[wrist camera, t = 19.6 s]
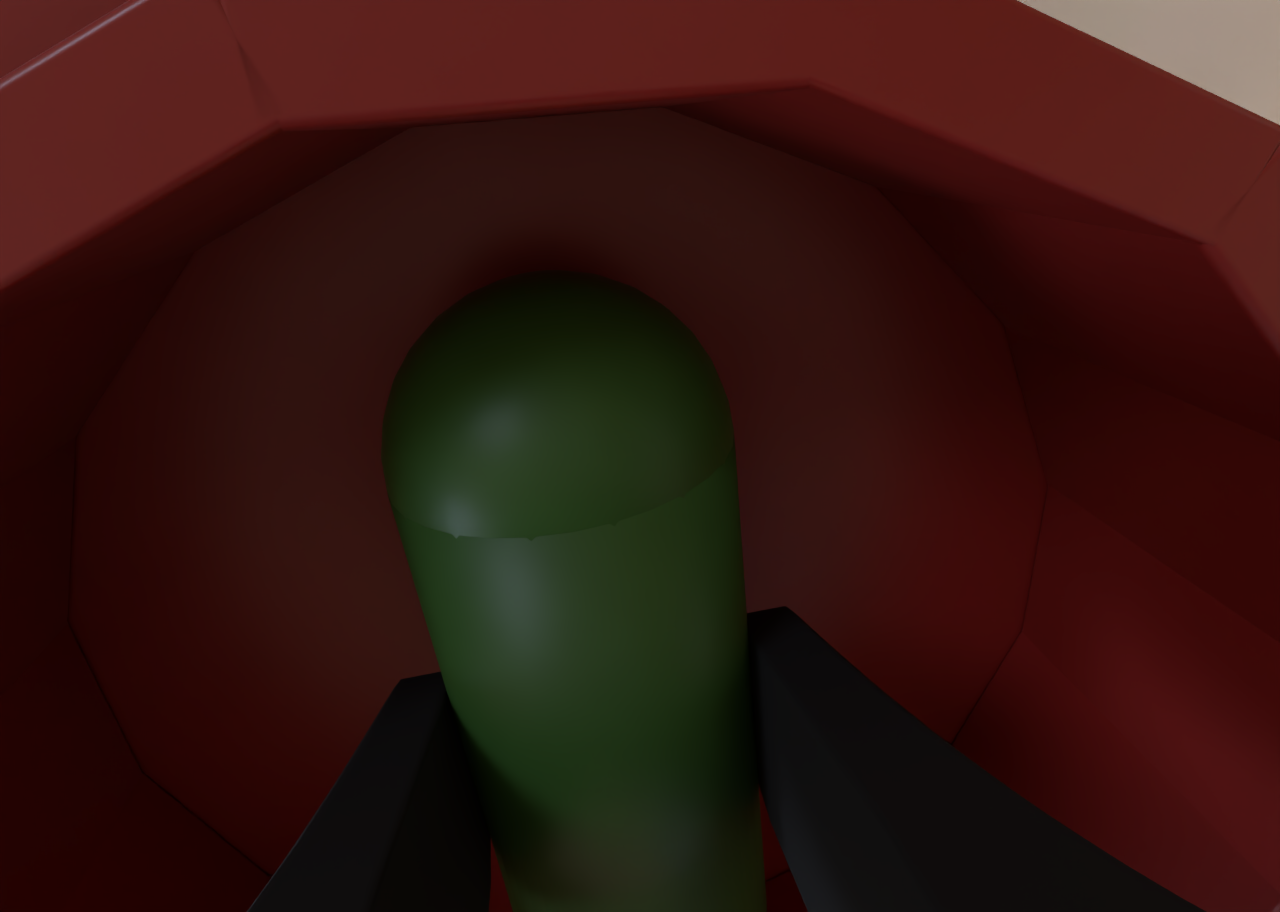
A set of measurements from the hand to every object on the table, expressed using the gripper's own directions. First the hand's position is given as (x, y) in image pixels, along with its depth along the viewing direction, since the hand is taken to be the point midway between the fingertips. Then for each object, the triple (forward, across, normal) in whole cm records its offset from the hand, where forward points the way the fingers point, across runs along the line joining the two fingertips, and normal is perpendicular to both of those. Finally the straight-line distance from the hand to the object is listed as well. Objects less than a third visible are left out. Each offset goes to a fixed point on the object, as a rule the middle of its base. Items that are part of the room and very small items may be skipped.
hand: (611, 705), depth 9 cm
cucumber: (+2, 0, 0) cm, 2 cm away
